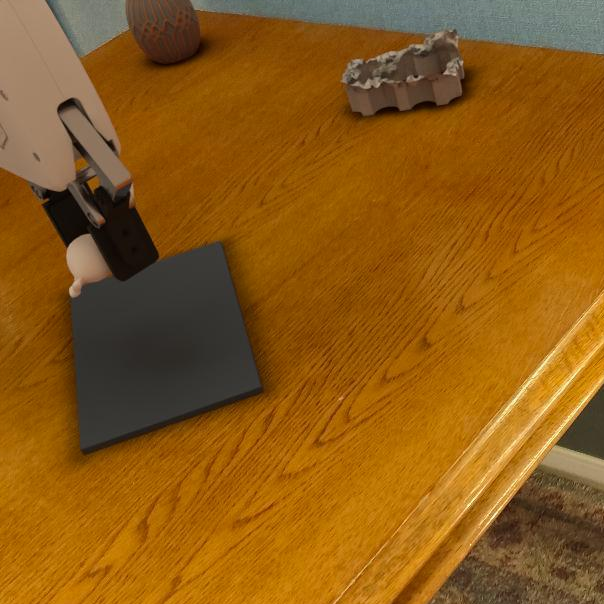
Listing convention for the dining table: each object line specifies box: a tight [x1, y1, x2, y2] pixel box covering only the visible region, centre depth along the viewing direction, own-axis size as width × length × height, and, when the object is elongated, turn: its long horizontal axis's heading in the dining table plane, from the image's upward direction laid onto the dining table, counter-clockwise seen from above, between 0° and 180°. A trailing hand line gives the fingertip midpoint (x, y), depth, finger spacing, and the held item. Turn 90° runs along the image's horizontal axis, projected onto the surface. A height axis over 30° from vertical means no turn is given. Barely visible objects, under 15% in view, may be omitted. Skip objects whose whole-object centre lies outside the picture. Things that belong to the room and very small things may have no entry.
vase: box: [124, 0, 201, 65], centre depth 103 cm, size 7×7×9 cm
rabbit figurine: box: [65, 182, 135, 298], centre depth 65 cm, size 6×4×8 cm
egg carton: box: [339, 28, 465, 117], centre depth 90 cm, size 11×8×4 cm
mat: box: [69, 240, 265, 456], centre depth 71 cm, size 20×12×1 cm, turn 20°
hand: (114, 255), depth 66 cm, fingers closed on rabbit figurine, 4 cm apart
